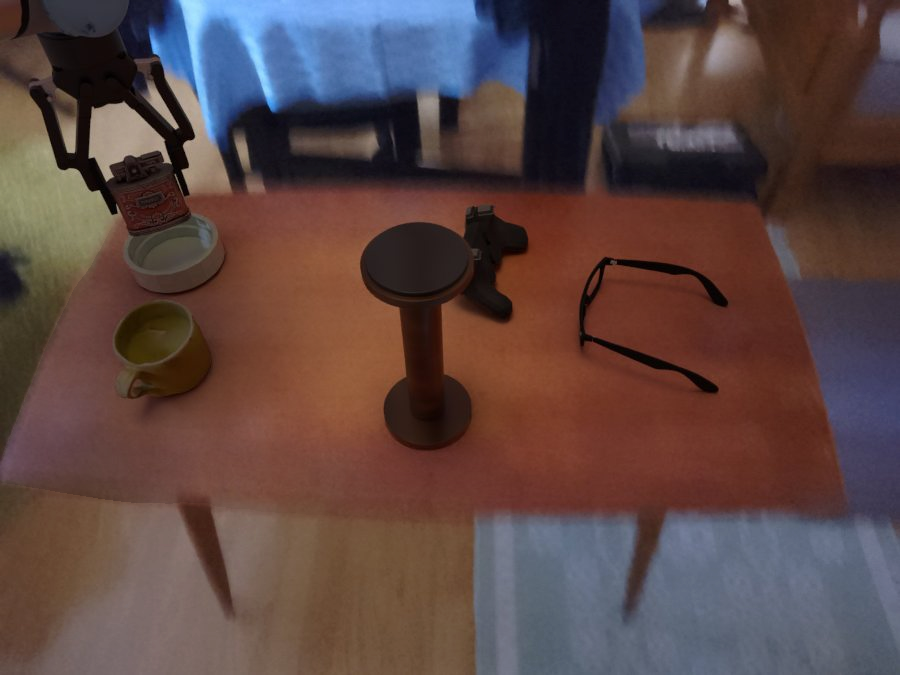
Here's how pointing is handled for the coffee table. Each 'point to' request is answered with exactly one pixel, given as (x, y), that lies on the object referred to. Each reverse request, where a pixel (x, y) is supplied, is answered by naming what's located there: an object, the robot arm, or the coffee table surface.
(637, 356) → the glasses
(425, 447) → the stand
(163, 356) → the mug
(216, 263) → the bowl
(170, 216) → the lighter
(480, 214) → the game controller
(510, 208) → the coffee table surface
